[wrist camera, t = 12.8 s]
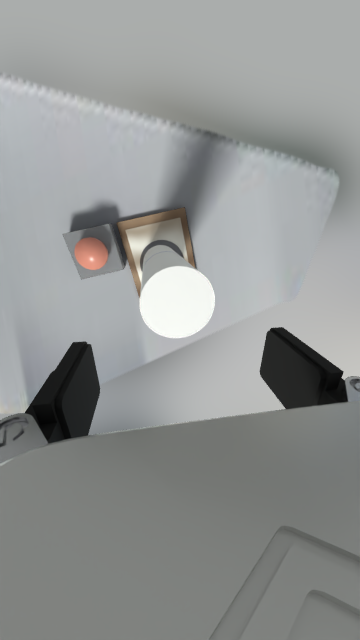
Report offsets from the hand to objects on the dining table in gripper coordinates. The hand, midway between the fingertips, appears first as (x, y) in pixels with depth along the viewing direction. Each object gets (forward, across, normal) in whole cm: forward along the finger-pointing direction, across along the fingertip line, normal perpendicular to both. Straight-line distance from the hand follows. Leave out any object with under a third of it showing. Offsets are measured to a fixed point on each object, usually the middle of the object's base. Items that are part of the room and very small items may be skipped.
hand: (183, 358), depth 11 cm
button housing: (+35, +11, -2) cm, 37 cm away
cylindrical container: (+34, -1, 0) cm, 34 cm away
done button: (+33, +11, -2) cm, 35 cm away
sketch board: (+35, -1, 0) cm, 35 cm away
